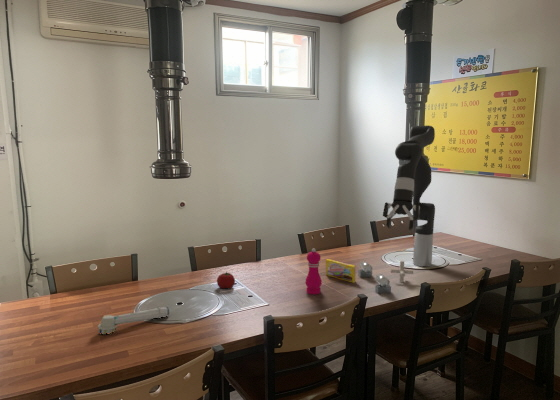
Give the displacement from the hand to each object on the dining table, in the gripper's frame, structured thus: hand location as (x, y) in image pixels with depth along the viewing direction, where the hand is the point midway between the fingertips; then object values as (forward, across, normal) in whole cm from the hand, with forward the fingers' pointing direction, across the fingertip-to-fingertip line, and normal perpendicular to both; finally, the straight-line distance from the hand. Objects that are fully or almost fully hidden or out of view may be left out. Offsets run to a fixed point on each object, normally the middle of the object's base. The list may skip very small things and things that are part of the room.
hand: (399, 229), depth 164 cm
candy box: (+24, +32, -24) cm, 47 cm away
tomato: (+37, +72, +11) cm, 82 cm away
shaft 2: (+26, +9, -18) cm, 33 cm away
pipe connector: (+21, +5, -34) cm, 40 cm away
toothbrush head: (+53, +78, +54) cm, 109 cm away
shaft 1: (+21, +22, -32) cm, 44 cm away
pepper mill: (+32, +35, -4) cm, 47 cm away
